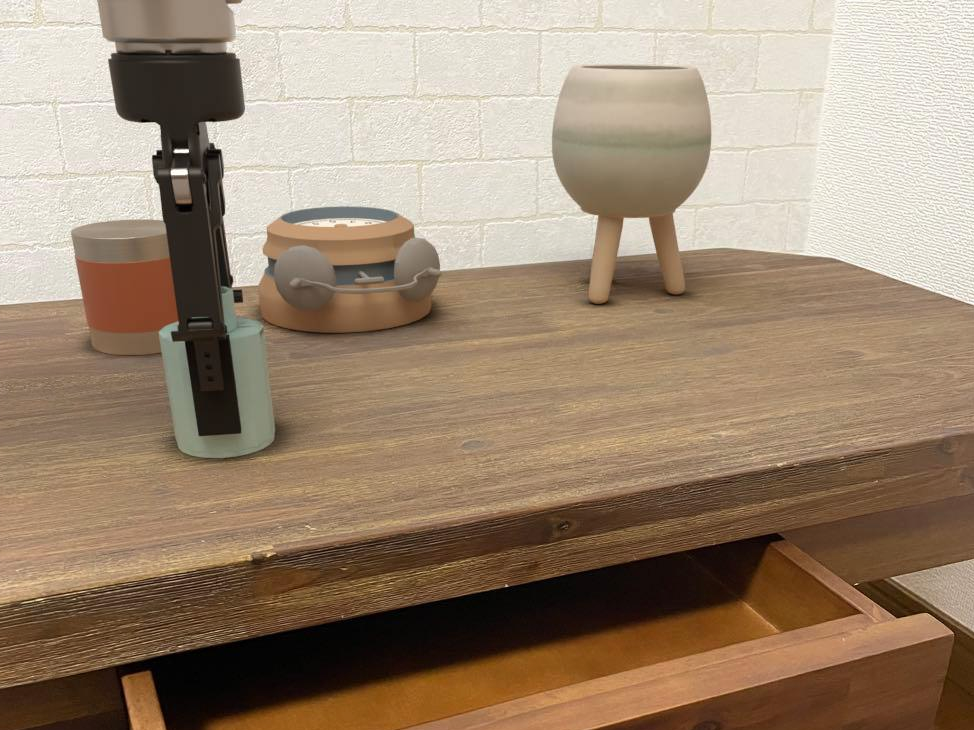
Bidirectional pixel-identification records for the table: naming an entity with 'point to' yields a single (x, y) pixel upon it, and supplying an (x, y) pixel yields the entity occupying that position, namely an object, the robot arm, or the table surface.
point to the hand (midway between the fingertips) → (223, 413)
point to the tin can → (125, 284)
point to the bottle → (249, 388)
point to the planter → (632, 155)
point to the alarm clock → (346, 271)
